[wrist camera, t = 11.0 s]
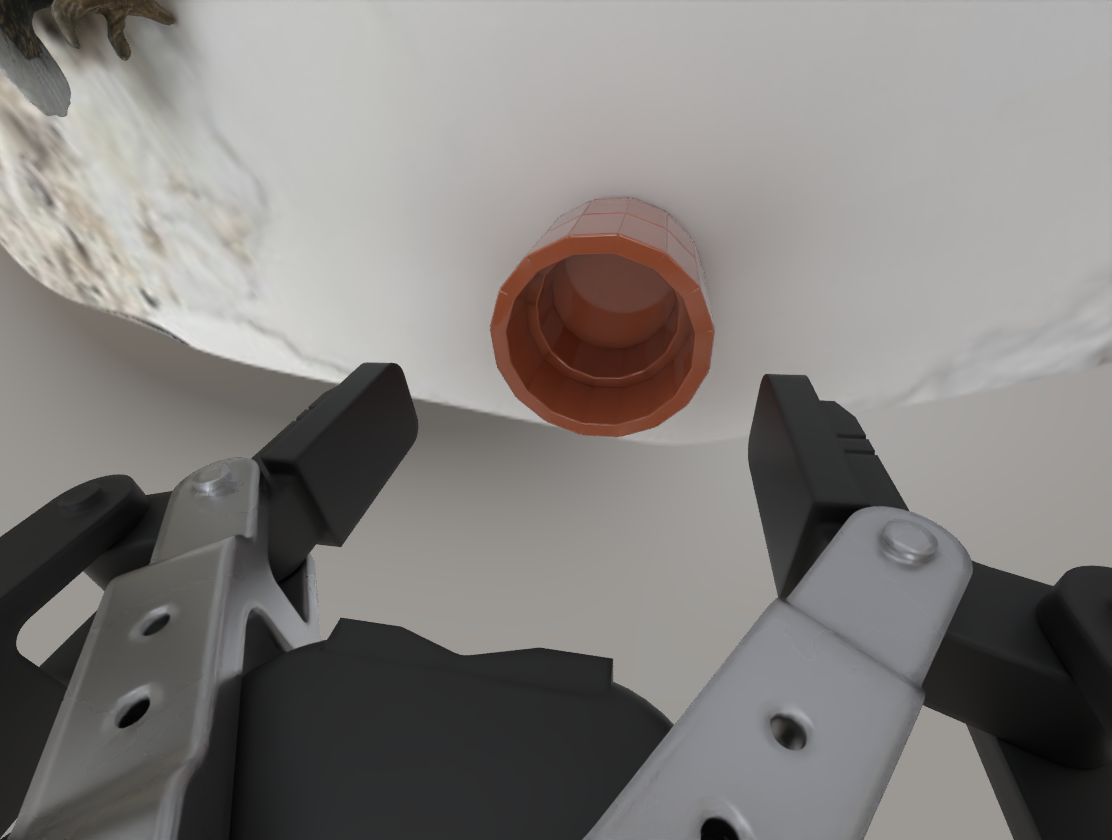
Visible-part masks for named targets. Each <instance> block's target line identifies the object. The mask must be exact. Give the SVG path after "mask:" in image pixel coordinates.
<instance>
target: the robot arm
mask: <svg viewBox="0 0 1112 840" xmlns="http://www.w3.org/2000/svg"><path fill="white" fill-rule="evenodd" d="M417 433H418V419H417V415H416V412H415V408H414V405H413V402H412V399H411V395H410V392H409V389H408V385H407V382H406V379H405V376H404V373H403V370H402V368H401V367H400V366H399V365H398V364H395V363H368V362H367V363H363V364H361V365H360V366H359V367H358V368H357V369H356V370H354V371H353V372H352V373H351V374H350V375H349V376H348V377H347V378H346V379H345V380H344V381H342V382H341V383H340V384H339V385H338V386H336V387H334V388H333V389H331V390H329V391H327V392H325V393H324V394H322V395H321V396H320V397H319V398H318V399H317V400H316V401H315V402H314V403H312V404H311V405H310V406H309V410H305V411H304V412H303V413H301V414H300V415H299V416H298V417H297V420H296V421H292V422H291V423H290V424H289V425H288V426H287V427H286V428H285V429H283V430H282V431H281V432H280V433H279V434H278V435H277V436H276V437H275V438H273V440H271V441H270V442H269V443H268V444H267V445H266V446H265V447H263V448H262V450H260V451H259V452H258V453H257V454H256V455H255V456H253V457H252V458H251V459H250V458H246V457H235V458H229V459H224V460H220V461H217V462H215V463H212V464H209V465H207V466H205V467H203V468H201V469H199V470H197V471H195V472H193V473H192V474H190V475H189V476H188V477H186V478H185V479H184V480H182V481H181V482H180V483H179V484H178V485H177V486H176V487H175V489H174V490H173V491H170V492H163V493H157V494H150V495H145V494H144V492H143V491H142V490H141V489H140V487H139V486H138V485H137V484H136V483H135V481H134V480H133V479H132V478H131V477H130V476H127V475H109V476H104V477H100V478H96V479H93V480H90V481H88V482H85V483H82V484H80V485H78V486H76V487H74V488H72V489H70V490H68V491H66V492H64V493H62V494H61V495H59V496H58V497H56V498H55V499H53V500H52V501H50V502H49V503H48V504H46V505H45V506H43V507H42V508H40V509H39V510H38V511H36V512H35V513H33V514H32V515H31V516H29V517H28V518H26V519H25V520H24V521H22V522H21V523H20V524H18V525H17V526H15V527H14V528H12V529H11V530H10V531H8V532H7V533H5V534H4V535H2V536H1V537H0V838H1V836H2V835H3V834H4V833H5V832H6V830H7V829H8V828H9V827H10V826H11V824H12V823H13V822H14V821H15V820H16V819H17V820H16V823H15V825H14V827H13V830H12V832H11V833H9V834H8V835H6V836H5V837H3V838H2V839H0V840H863V839H864V837H865V835H866V832H867V830H868V828H869V826H870V823H871V821H872V819H873V816H874V814H875V812H876V810H877V807H878V805H879V803H880V801H881V799H882V796H883V794H884V792H885V790H886V787H887V785H888V783H889V781H890V778H891V776H892V774H893V772H894V769H895V767H896V765H897V763H898V760H899V758H900V756H901V754H902V751H903V749H904V746H905V745H906V742H907V740H908V738H909V736H910V733H911V731H912V729H913V726H914V724H915V722H916V720H917V717H918V715H919V713H920V710H921V708H922V705H924V706H926V707H928V708H931V709H933V710H935V711H938V712H940V713H942V714H945V715H947V716H949V717H952V718H954V719H956V720H959V721H961V722H963V723H966V725H967V727H968V730H969V732H970V735H971V737H972V739H973V742H974V744H975V747H976V749H977V751H978V754H979V756H980V758H981V761H982V764H983V766H984V768H985V771H986V773H987V776H988V778H989V780H990V783H991V785H992V788H993V790H994V793H995V795H996V798H997V800H998V802H999V805H1000V807H1001V809H1002V812H1003V814H1004V817H1005V819H1006V821H1007V824H1008V827H1009V829H1010V831H1011V834H1012V836H1013V839H1014V840H1112V568H1109V567H1101V566H1081V567H1076V568H1073V569H1071V570H1069V571H1067V572H1066V573H1065V574H1064V575H1063V576H1062V577H1061V578H1060V579H1059V581H1058V582H1057V583H1056V584H1055V585H1054V586H1051V585H1047V584H1044V583H1041V582H1038V581H1034V580H1031V579H1028V578H1024V577H1021V576H1018V575H1015V574H1011V573H1008V572H1005V571H1001V570H998V569H995V568H991V567H988V566H985V565H982V564H980V563H976V562H974V561H972V560H971V558H970V556H969V554H968V552H967V551H966V549H965V547H964V546H963V545H962V544H961V543H960V541H959V540H958V539H957V538H955V537H954V536H953V535H952V534H951V533H950V532H948V531H947V530H946V529H944V528H943V527H942V526H940V525H938V524H937V523H935V522H933V521H931V520H929V519H927V518H925V517H923V516H921V515H918V514H916V513H913V512H910V511H909V509H908V508H907V506H906V504H905V503H904V501H903V499H902V497H901V496H900V494H899V492H898V491H897V489H896V487H895V485H894V483H893V482H892V480H891V478H890V476H889V475H888V473H887V471H886V470H885V468H884V466H883V464H882V463H881V461H880V459H879V457H878V456H877V455H875V454H874V453H875V450H874V449H873V447H872V445H871V443H870V442H869V440H868V439H866V435H865V433H864V431H863V430H862V428H861V426H860V424H859V423H858V421H857V419H856V417H854V416H853V415H852V414H851V413H849V412H848V411H847V410H845V409H844V408H843V407H841V406H840V405H839V404H837V403H836V402H835V401H820V400H819V398H818V396H817V394H816V392H815V390H814V388H813V386H812V384H811V382H810V380H809V378H808V377H807V376H806V375H780V374H765V375H764V376H763V378H762V381H761V384H760V389H759V393H758V398H757V403H756V408H755V412H754V417H753V422H752V427H751V431H750V436H749V444H748V460H749V467H750V472H751V476H752V481H753V485H754V490H755V494H756V499H757V503H758V508H759V512H760V517H761V521H762V526H763V530H764V534H765V540H766V544H767V549H768V553H769V557H770V562H771V567H772V571H773V575H774V580H775V585H776V589H777V593H778V598H776V599H775V600H774V601H773V602H772V603H771V604H770V605H769V606H768V607H767V608H766V610H765V611H764V612H763V613H762V615H761V616H760V617H759V618H758V620H757V621H756V622H755V623H754V625H753V626H752V627H751V629H750V630H749V631H748V632H747V634H746V635H745V636H744V637H743V639H742V640H741V641H740V643H739V644H738V645H737V646H736V648H735V649H734V650H733V651H732V653H731V654H730V655H729V657H728V658H727V659H726V660H725V662H724V663H723V664H722V665H721V667H720V668H719V669H718V670H717V672H716V673H715V674H714V675H713V677H712V678H711V679H710V680H709V682H708V683H707V684H706V686H705V687H704V688H703V689H702V691H701V692H700V693H699V694H698V696H697V697H696V698H695V699H694V701H693V702H692V703H691V705H690V706H689V707H688V708H687V709H686V711H685V712H684V713H683V715H682V716H681V717H680V718H679V720H678V721H677V722H676V723H675V725H674V724H673V723H672V722H671V721H670V720H669V719H668V718H667V717H666V716H665V715H664V714H663V713H662V712H661V711H659V710H658V709H657V708H655V707H654V706H653V705H652V704H651V703H649V702H648V701H647V700H646V699H644V698H642V697H641V696H639V695H638V694H636V693H634V692H633V691H631V690H630V689H628V688H625V687H623V686H621V685H619V684H617V683H615V682H613V659H612V658H605V657H598V656H592V655H585V654H579V653H572V652H565V651H558V650H552V649H545V648H532V649H523V650H514V651H505V652H497V653H487V654H478V655H459V654H456V653H454V652H452V651H450V650H448V649H446V648H444V647H442V646H440V645H438V644H436V643H433V642H431V641H429V640H427V639H425V638H423V637H421V636H419V635H417V634H415V633H413V632H411V631H409V630H407V629H405V628H403V627H400V626H393V625H386V624H379V623H373V622H366V621H360V620H353V619H346V618H340V620H339V621H338V623H337V625H336V626H335V628H334V630H333V631H332V633H331V635H330V636H329V638H328V639H327V640H323V641H321V636H320V629H319V613H318V599H317V583H316V569H315V561H314V559H313V557H312V555H311V554H310V551H311V550H312V549H313V547H314V546H315V545H316V544H319V545H328V546H337V547H341V546H342V545H343V543H344V542H345V541H346V539H347V538H348V536H349V535H350V533H351V532H352V531H353V529H354V528H355V526H356V525H357V523H358V522H359V521H360V519H361V518H362V516H363V515H364V514H365V512H366V511H367V509H368V508H369V506H370V505H371V504H372V502H373V501H374V499H375V498H376V496H377V495H378V494H379V492H380V491H381V489H382V488H383V486H384V485H385V484H386V482H387V481H388V479H389V478H390V476H391V475H392V474H393V472H394V471H395V469H396V468H397V467H398V465H399V464H400V462H401V461H402V459H403V458H404V457H405V455H406V454H407V452H408V451H409V449H410V448H411V447H412V445H413V444H414V442H415V440H416V437H417ZM82 571H83V572H85V573H86V574H87V575H88V576H89V577H90V578H91V579H92V580H93V581H94V582H95V583H96V584H97V585H98V586H100V587H101V588H102V589H103V590H104V591H105V592H104V595H103V597H102V600H101V602H100V605H99V608H98V610H97V611H96V612H95V613H94V614H93V615H92V616H91V617H90V618H89V619H88V620H87V621H86V622H85V623H84V624H82V626H80V627H79V628H78V629H77V630H76V631H75V632H74V633H73V634H72V635H71V636H70V637H69V638H68V639H67V640H66V641H65V642H64V643H63V644H62V645H61V646H60V647H59V648H58V649H57V650H56V651H55V652H54V653H53V654H52V655H51V656H50V657H49V658H48V659H47V660H46V661H45V662H44V663H43V664H42V665H41V666H40V667H38V666H36V665H35V664H34V663H32V662H31V661H29V660H28V659H26V658H25V657H23V656H22V655H21V654H20V653H19V652H18V650H17V647H16V639H17V635H18V633H19V631H20V629H21V628H22V626H23V625H24V624H25V622H26V621H27V620H28V619H29V618H30V617H31V616H32V615H33V614H35V613H36V612H37V611H38V610H39V609H40V608H41V607H43V606H44V605H45V604H46V603H47V602H48V601H50V600H51V599H52V598H53V597H54V596H55V595H56V594H57V593H59V592H60V591H61V590H62V589H63V588H64V587H65V586H66V585H68V584H69V583H70V582H71V581H72V580H73V579H75V577H77V576H78V575H79V574H80V573H81V572H82ZM17 817H18V818H17Z"/></svg>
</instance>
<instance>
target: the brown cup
mask: <svg viewBox="0 0 1112 840" xmlns="http://www.w3.org/2000/svg"><path fill="white" fill-rule="evenodd" d="M490 331H491V337H492V343H493V348H494V354H495V360H496V364H497V368H498V369H499V371H500V372H501V374H502V376H503V377H504V379H505V381H506V382H507V384H508V385H509V387H510V389H511V390H512V392H513V394H514V395H515V397H517V399H518V400H520V401H521V402H522V403H523V404H525V405H526V406H527V407H528V408H530V409H531V410H532V411H533V412H535V413H536V414H537V415H538V416H539V417H541V418H542V419H543V420H545V421H546V422H548V423H551V424H553V425H556V426H559V427H561V428H564V429H567V430H569V431H572V432H575V433H577V434H582V435H589V436H606V437H619V436H620V437H622V436H625V435H629V434H633V433H636V432H640V431H644V430H648V429H651V428H655V427H656V426H659V425H660V424H661V423H663V422H664V421H666V420H667V419H668V418H670V417H671V416H673V415H674V414H676V413H677V412H678V411H680V410H681V409H683V408H684V407H685V406H687V404H689V403H690V401H691V399H692V398H693V396H694V395H695V393H696V391H697V390H698V388H699V387H700V385H701V383H702V382H703V380H704V379H705V377H706V375H707V374H708V372H709V369H710V364H711V356H712V348H713V340H714V332H715V331H714V323H713V318H712V312H711V307H710V301H709V296H708V291H707V285H706V280H705V274H704V270H703V267H702V264H701V261H700V258H699V255H698V252H697V249H696V246H695V243H694V241H692V238H691V237H690V236H689V235H688V234H687V233H686V231H685V230H684V229H683V228H682V227H681V226H680V225H679V224H678V223H677V222H676V221H675V220H674V219H673V218H672V217H671V216H670V215H669V214H668V213H667V214H666V212H665V211H663V210H661V209H658V208H656V207H653V206H651V205H648V204H646V203H643V202H641V201H638V200H636V199H630V198H617V199H597V200H593V201H589V202H587V203H585V204H583V205H581V206H579V207H577V208H575V209H573V210H571V211H569V212H568V213H566V214H564V215H562V216H561V217H560V218H558V219H557V220H556V221H555V222H554V223H553V225H552V226H551V227H550V228H549V229H548V230H547V232H546V233H545V234H544V235H543V236H542V237H541V239H540V240H539V241H538V242H537V243H536V245H535V246H534V247H533V248H532V249H531V250H530V252H529V253H528V254H527V255H526V256H525V257H524V259H523V260H522V261H521V262H520V264H519V265H518V266H517V267H516V269H515V270H514V271H513V272H512V274H511V275H510V276H509V277H508V279H507V280H506V281H505V282H504V284H503V285H502V286H501V288H500V290H499V292H498V296H497V300H496V304H495V308H494V312H493V317H492V321H491V325H490Z"/></svg>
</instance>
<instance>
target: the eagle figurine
mask: <svg viewBox="0 0 1112 840" xmlns="http://www.w3.org/2000/svg"><path fill="white" fill-rule="evenodd" d="M50 6H51V13H52V17H53V18H54V19H55V21H56V23H57V25H58V27H59V29H60V31H61V32H62V34H63V36H64V38H65V39H66V41H67V42H68V43H69V44H70V45H71V46H73V47H74V48H76V49H80V44H79V41H78V38H77V35H76V31H75V28H76V25H77V22H78V20H79V19H80V18H81V17H82V16H84V15H86V14H100V13H101V14H103V15H104V16H105V18H106V20H107V27H108V38H109V41H110V43H111V45H112V46H113V48H114V50H115V52H116V53H117V55H118V56H119V57H120V58H121V59H122V60H125V61H126V60H128V59H129V57H130V56H131V49H130V46H129V44H128V43H127V41H126V39H125V37H124V34H123V29H124V27H125V19H126V16H127V15H133V16H144V17H147V18H150V19H152V20H155V21H157V22H159V23H162V24H166V25H171V24H174V21H175V20H174V17H173V16H172V14H171V13H169V12H168V11H167V10H166V9H164V8H163V7H162V6H160V5H159V4H158V3H157V2H156V1H155V0H0V70H1V72H2V73H3V74H4V75H5V76H6V77H7V78H8V79H9V80H10V81H11V82H12V84H13V85H14V86H16V87H17V89H18V90H19V91H20V92H21V93H22V94H23V95H24V96H25V97H26V98H27V99H28V100H29V101H30V102H31V103H32V104H33V105H35V106H36V107H37V108H38V110H40V111H41V112H42V113H43V114H45V115H47V116H52V115H56V116H59V117H65V116H66V115H67V110H68V107H69V105H70V97H71V91H70V87H69V84H68V82H67V80H66V78H65V76H64V74H63V72H62V71H61V69H60V67H59V66H58V64H57V63H56V61H55V60H54V59H53V57H52V56H51V54H50V53H49V51H48V50H47V49H46V47H45V46H44V44H43V43H42V42H41V40H40V39H39V38H38V37H37V36H36V34H35V32H34V30H33V26H32V18H33V14H34V12H35V11H38V10H39V9H42V8H46V7H50Z"/></svg>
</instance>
